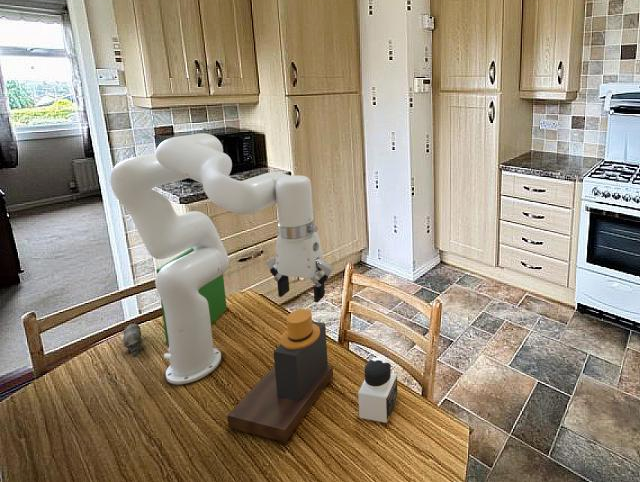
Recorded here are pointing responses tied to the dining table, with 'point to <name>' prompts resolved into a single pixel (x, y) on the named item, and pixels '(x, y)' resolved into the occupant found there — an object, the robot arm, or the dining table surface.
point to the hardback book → (205, 294)
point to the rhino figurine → (132, 339)
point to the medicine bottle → (378, 391)
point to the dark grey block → (300, 366)
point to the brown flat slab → (274, 408)
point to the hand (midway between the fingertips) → (301, 296)
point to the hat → (300, 330)
